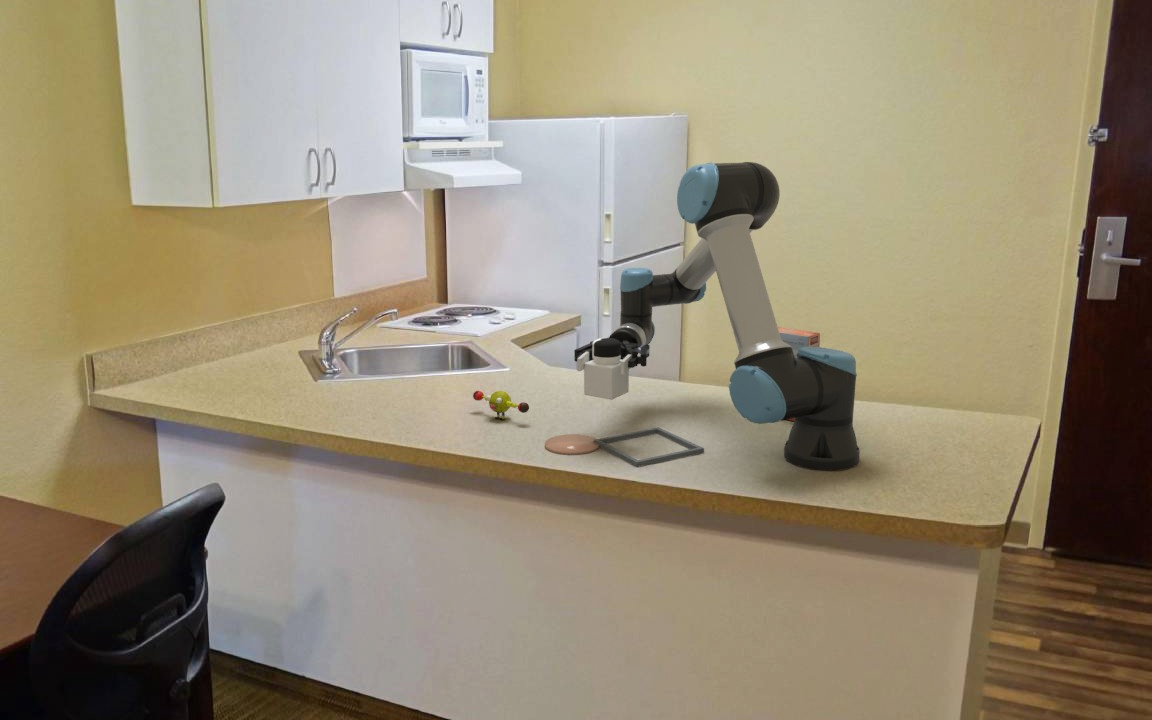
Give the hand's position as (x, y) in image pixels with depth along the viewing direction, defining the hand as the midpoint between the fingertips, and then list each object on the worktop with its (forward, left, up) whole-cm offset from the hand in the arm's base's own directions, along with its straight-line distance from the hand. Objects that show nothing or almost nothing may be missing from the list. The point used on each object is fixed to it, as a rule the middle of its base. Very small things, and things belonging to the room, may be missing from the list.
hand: (600, 366), depth 200 cm
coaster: (+6, +3, -19) cm, 20 cm away
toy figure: (+32, +8, -19) cm, 38 cm away
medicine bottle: (+3, -3, -7) cm, 9 cm away
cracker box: (-1, -51, -19) cm, 54 cm away
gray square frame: (-4, -10, -19) cm, 21 cm away
